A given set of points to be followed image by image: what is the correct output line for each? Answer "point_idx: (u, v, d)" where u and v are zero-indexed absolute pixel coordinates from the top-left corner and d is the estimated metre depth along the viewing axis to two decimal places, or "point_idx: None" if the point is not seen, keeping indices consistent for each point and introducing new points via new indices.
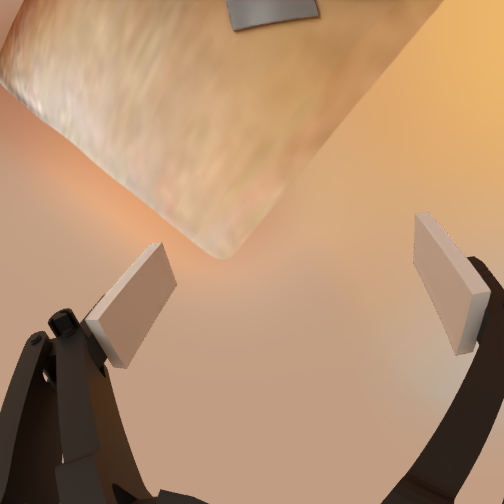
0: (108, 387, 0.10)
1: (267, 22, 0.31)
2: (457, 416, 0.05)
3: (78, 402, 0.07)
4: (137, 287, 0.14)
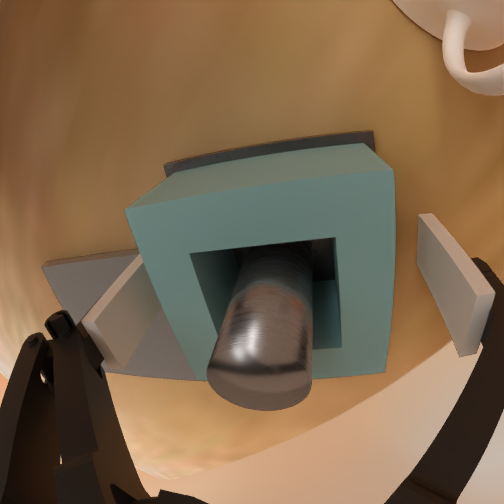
0: (105, 388, 0.10)
1: None
2: (461, 417, 0.05)
3: (75, 403, 0.07)
4: (134, 288, 0.13)
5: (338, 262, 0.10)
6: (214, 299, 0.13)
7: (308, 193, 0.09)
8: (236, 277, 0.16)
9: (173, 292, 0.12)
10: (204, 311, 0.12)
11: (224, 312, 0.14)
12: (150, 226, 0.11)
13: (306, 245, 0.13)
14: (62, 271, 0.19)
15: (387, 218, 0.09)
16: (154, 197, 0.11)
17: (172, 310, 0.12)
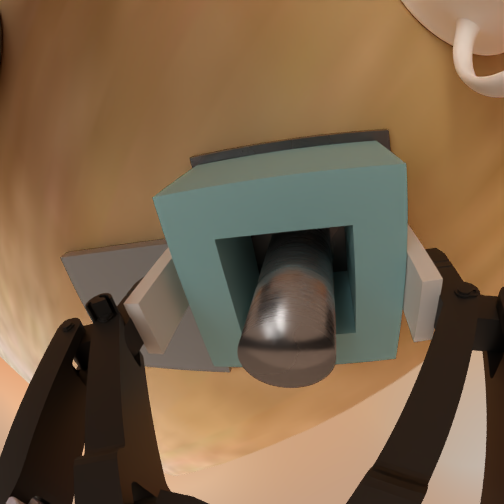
0: (142, 376, 0.10)
1: None
2: (418, 404, 0.05)
3: (108, 393, 0.07)
4: (172, 273, 0.14)
5: (354, 249, 0.11)
6: (235, 286, 0.13)
7: (329, 184, 0.10)
8: (253, 267, 0.17)
9: (196, 277, 0.13)
10: (226, 296, 0.13)
11: (243, 299, 0.14)
12: (177, 213, 0.11)
13: (326, 235, 0.14)
14: (82, 261, 0.20)
15: (400, 208, 0.10)
16: (181, 186, 0.12)
17: (194, 296, 0.13)
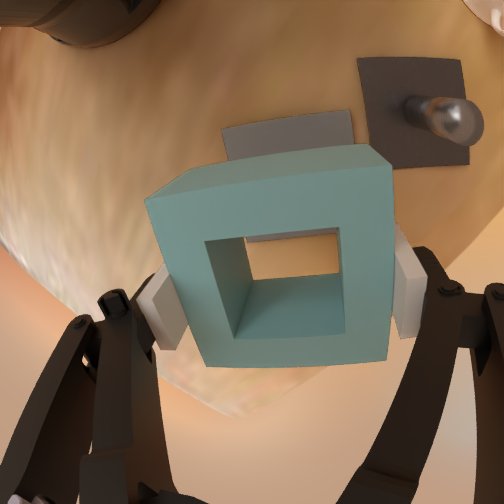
0: (153, 374, 0.11)
1: (293, 236, 0.29)
2: (405, 402, 0.05)
3: (117, 390, 0.07)
4: None
5: (342, 250, 0.11)
6: (226, 287, 0.14)
7: (315, 186, 0.10)
8: (246, 269, 0.17)
9: (187, 278, 0.13)
10: (216, 297, 0.13)
11: (234, 300, 0.15)
12: (168, 215, 0.12)
13: None
14: (248, 130, 0.25)
15: (386, 210, 0.10)
16: (172, 189, 0.12)
17: (186, 297, 0.13)
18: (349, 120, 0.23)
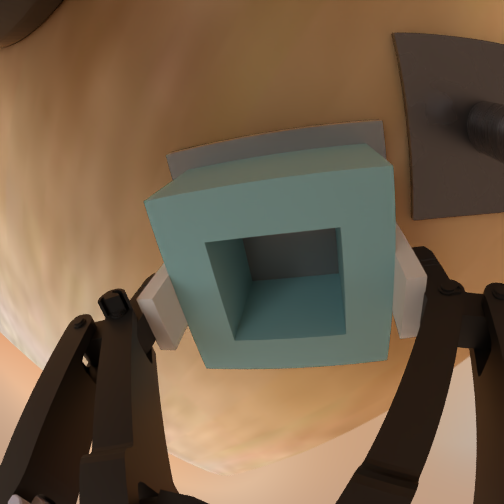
0: (153, 373, 0.11)
1: None
2: (405, 401, 0.05)
3: (118, 390, 0.07)
4: None
5: (343, 251, 0.11)
6: (226, 288, 0.14)
7: (316, 186, 0.10)
8: (245, 270, 0.17)
9: (187, 280, 0.13)
10: (216, 299, 0.13)
11: (234, 301, 0.15)
12: (168, 217, 0.11)
13: None
14: (209, 156, 0.15)
15: (387, 210, 0.10)
16: (172, 190, 0.12)
17: (186, 298, 0.13)
18: (381, 139, 0.13)
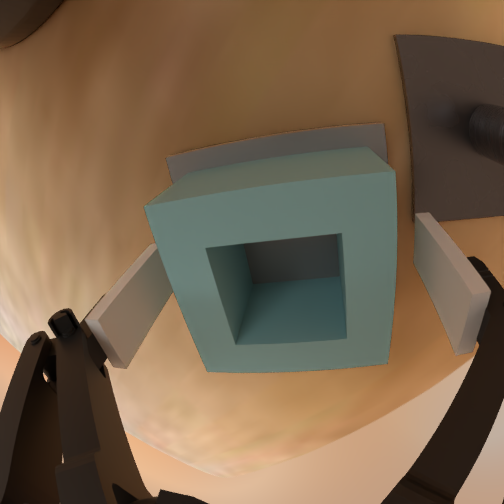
0: (108, 387, 0.10)
1: None
2: (457, 416, 0.05)
3: (78, 402, 0.07)
4: (137, 287, 0.14)
5: (344, 256, 0.11)
6: (226, 293, 0.13)
7: (317, 192, 0.10)
8: (246, 273, 0.17)
9: (188, 285, 0.13)
10: (217, 304, 0.13)
11: (235, 306, 0.14)
12: (168, 222, 0.11)
13: None
14: (209, 159, 0.15)
15: (389, 216, 0.10)
16: (172, 195, 0.12)
17: (187, 303, 0.13)
18: (383, 142, 0.13)
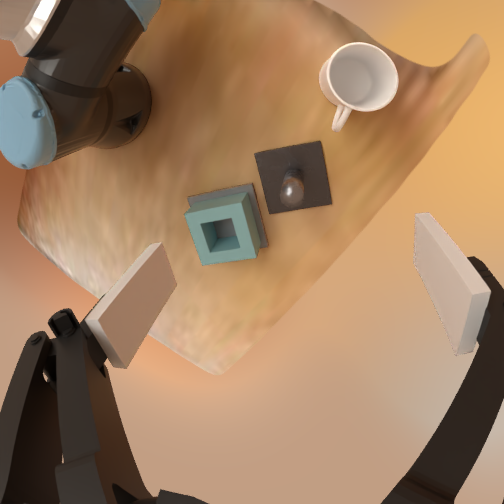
0: (108, 387, 0.10)
1: None
2: (457, 416, 0.05)
3: (78, 402, 0.07)
4: (137, 287, 0.14)
5: (233, 223, 0.45)
6: (206, 237, 0.48)
7: (224, 209, 0.44)
8: (214, 234, 0.51)
9: (196, 234, 0.47)
10: (204, 239, 0.47)
11: (210, 242, 0.49)
12: (190, 217, 0.46)
13: (301, 176, 0.44)
14: (201, 198, 0.50)
15: (242, 212, 0.44)
16: (191, 211, 0.46)
17: (195, 240, 0.48)
18: (252, 189, 0.48)
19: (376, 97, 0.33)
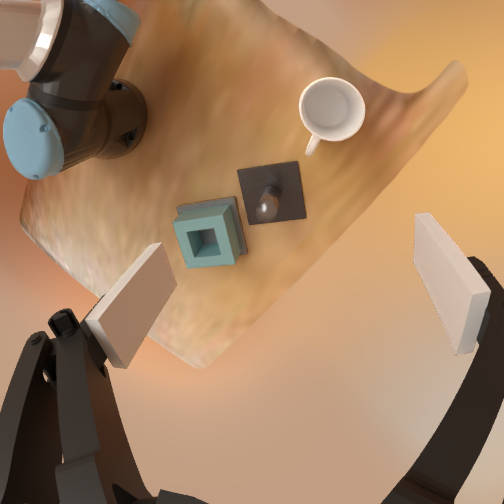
0: (108, 387, 0.10)
1: None
2: (457, 416, 0.05)
3: (78, 402, 0.07)
4: (137, 286, 0.14)
5: (215, 233, 0.51)
6: (192, 243, 0.53)
7: (207, 219, 0.50)
8: (199, 240, 0.57)
9: (182, 241, 0.53)
10: (189, 245, 0.53)
11: (194, 248, 0.54)
12: (178, 226, 0.51)
13: (278, 192, 0.49)
14: (188, 208, 0.55)
15: (223, 224, 0.50)
16: (178, 219, 0.52)
17: (182, 246, 0.53)
18: (234, 202, 0.53)
19: (348, 124, 0.39)
